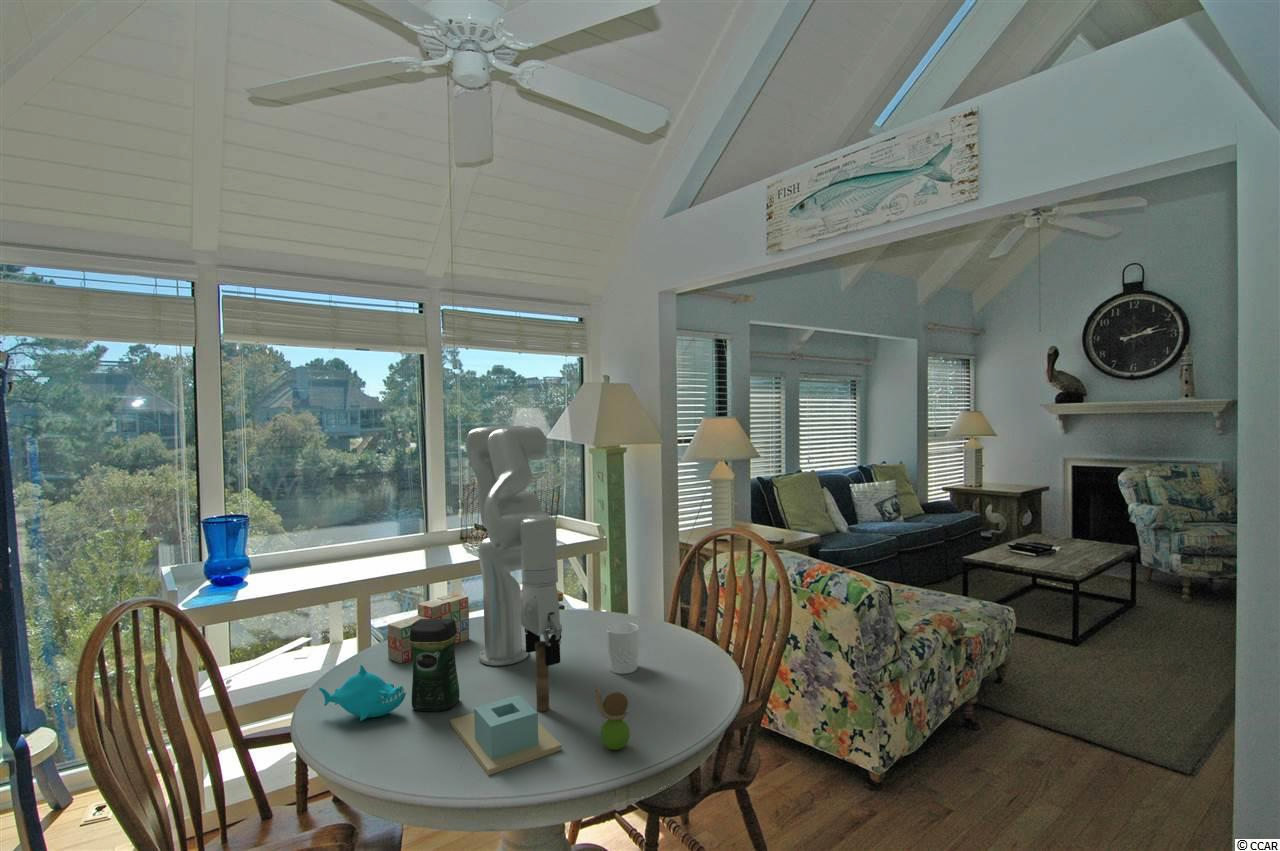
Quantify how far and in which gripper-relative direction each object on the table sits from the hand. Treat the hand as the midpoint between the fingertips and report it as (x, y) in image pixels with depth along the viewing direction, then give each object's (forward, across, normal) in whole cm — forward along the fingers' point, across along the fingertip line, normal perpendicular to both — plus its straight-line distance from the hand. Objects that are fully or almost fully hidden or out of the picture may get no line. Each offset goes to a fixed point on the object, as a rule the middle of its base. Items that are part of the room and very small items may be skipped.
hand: (542, 657), depth 131 cm
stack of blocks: (+10, -52, -10) cm, 54 cm away
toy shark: (+11, -21, -32) cm, 40 cm away
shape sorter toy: (+11, +5, -11) cm, 17 cm away
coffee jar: (+11, -17, -18) cm, 27 cm away
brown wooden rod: (+11, -1, 0) cm, 11 cm away
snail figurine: (+12, +21, +4) cm, 25 cm away
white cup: (+11, -9, +25) cm, 29 cm away
